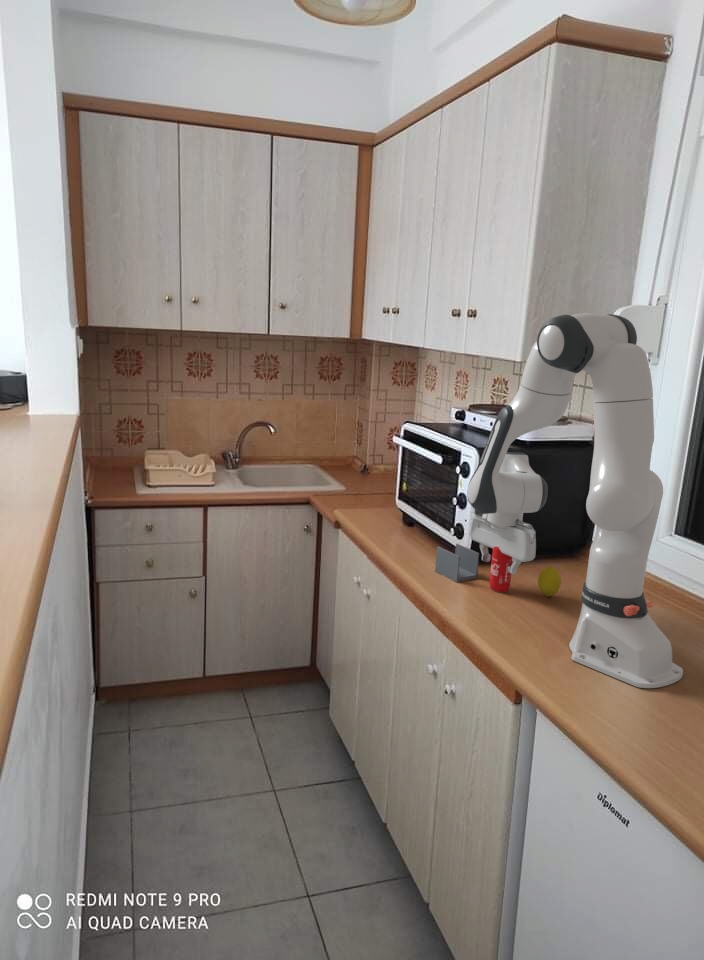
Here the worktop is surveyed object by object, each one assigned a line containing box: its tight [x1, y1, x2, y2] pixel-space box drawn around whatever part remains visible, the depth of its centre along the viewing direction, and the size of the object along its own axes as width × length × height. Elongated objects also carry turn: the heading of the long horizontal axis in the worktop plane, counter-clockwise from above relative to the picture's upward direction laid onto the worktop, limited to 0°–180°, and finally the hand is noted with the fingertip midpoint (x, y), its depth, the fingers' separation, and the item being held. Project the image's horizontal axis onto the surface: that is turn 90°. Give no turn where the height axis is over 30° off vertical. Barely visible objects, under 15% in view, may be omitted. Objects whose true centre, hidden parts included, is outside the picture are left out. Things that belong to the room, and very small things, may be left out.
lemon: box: [537, 565, 562, 597], centre depth 179 cm, size 6×6×8 cm
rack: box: [434, 543, 480, 583], centre depth 191 cm, size 9×7×7 cm
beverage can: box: [488, 545, 513, 593], centre depth 182 cm, size 5×5×12 cm
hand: (498, 567), depth 182 cm, fingers open, 8 cm apart
